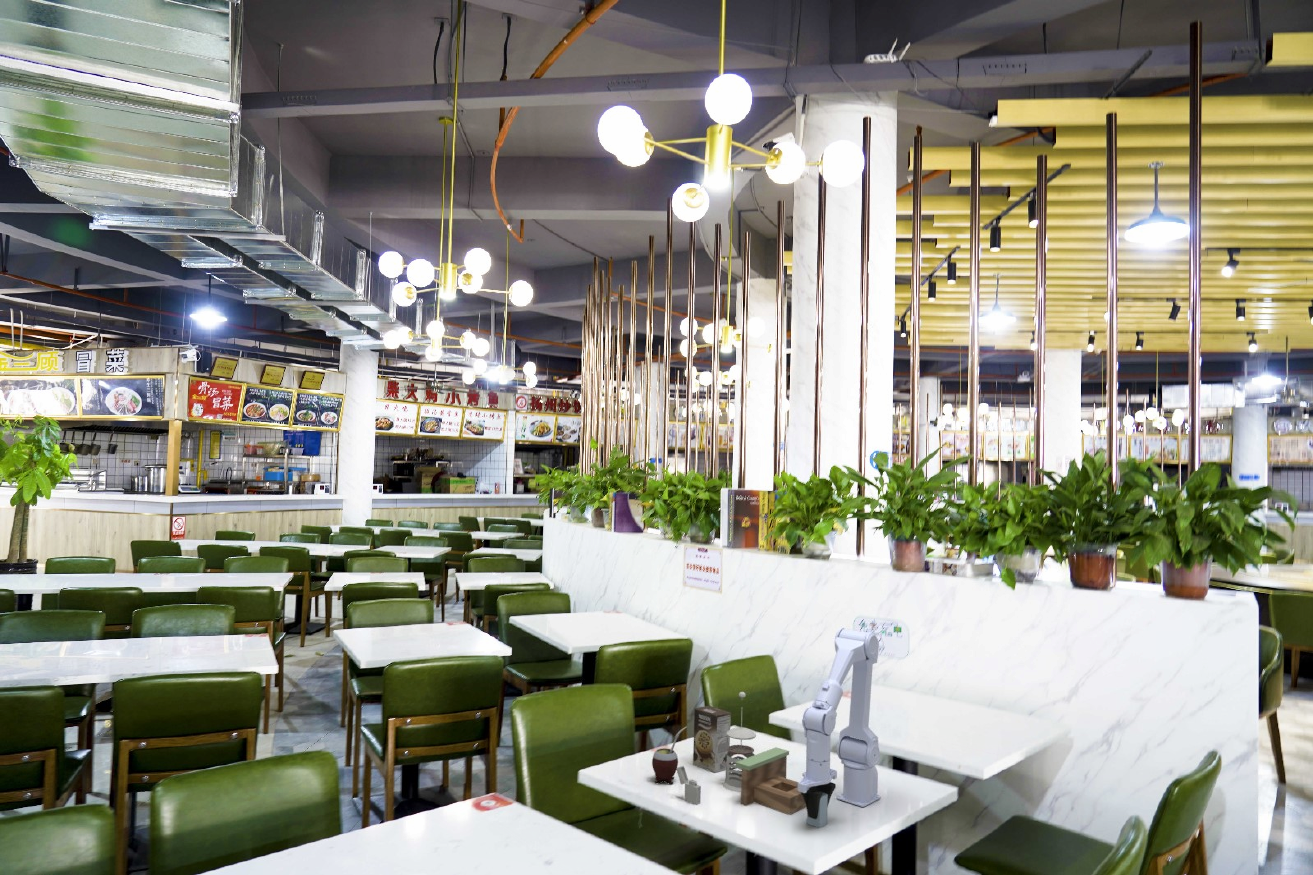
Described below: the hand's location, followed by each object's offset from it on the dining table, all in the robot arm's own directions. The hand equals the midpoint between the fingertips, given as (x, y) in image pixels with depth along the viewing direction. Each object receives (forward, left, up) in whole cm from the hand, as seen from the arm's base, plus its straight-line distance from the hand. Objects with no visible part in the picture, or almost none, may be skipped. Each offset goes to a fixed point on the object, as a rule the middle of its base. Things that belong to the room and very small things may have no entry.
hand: (817, 815), depth 201 cm
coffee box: (-12, -43, -2) cm, 45 cm away
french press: (-6, -29, -2) cm, 30 cm away
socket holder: (-5, -15, -2) cm, 16 cm away
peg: (0, 0, -2) cm, 2 cm away
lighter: (+12, -31, -2) cm, 33 cm away
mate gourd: (+6, -44, -2) cm, 44 cm away
